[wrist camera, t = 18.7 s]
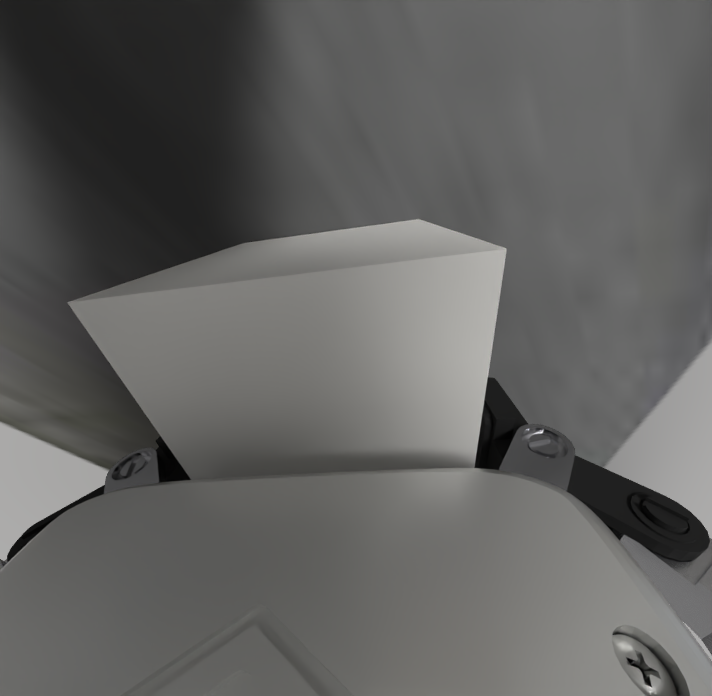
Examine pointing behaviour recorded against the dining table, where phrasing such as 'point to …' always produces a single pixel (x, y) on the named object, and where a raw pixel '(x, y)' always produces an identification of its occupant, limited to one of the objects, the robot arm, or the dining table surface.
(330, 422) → the white cube
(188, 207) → the dining table surface
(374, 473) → the robot arm
